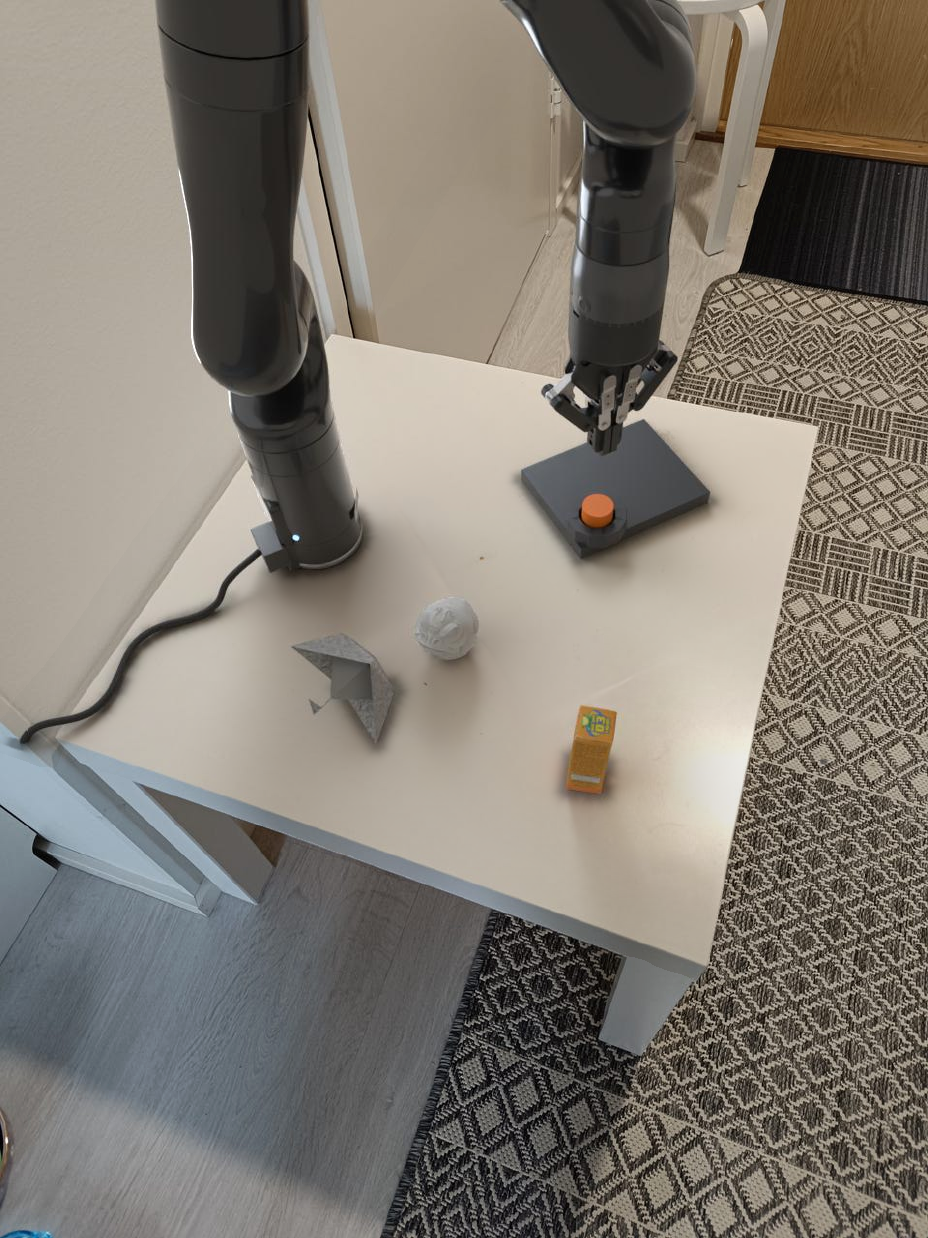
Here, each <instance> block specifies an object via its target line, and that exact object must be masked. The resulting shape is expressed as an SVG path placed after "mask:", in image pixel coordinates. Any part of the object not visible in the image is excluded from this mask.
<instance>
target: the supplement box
mask: <svg viewBox="0 0 928 1238" xmlns="http://www.w3.org/2000/svg"><path fill="white" fill-rule="evenodd" d="M617 715H618V712H617V711H616V710H611V709H607V708H601V707H594V706H588V705H579V709H578V713H577V718H576V724H575V728H574V734H573V739H572V743H571V749H570V755H569V763H568V768H567V774H566V775H567V776H566V783H565V785H566V786H565V788H566V789H567V790H570V791H577V792H583V793H589V794H597V795H600V794H602V791H603V784H604V780H605V776H606V772H607V768H608V763H609V759H610V758H609V757H610V755H611V751H612V750H611V749H612V746H613V742H614V738H615V731H616V724H617Z"/></svg>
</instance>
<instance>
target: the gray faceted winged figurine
mask: <svg viewBox="0 0 928 1238" xmlns="http://www.w3.org/2000/svg"><path fill="white" fill-rule="evenodd" d="M290 648H291V649H293V650H294V651H295V652H297V653H298V654H299V655H300V656H301V657H303V658H304V659H305V660H306V661H307V662H309V663H310V664H311V665H312V666H314V667H315V668H316V669H317V670H318V671H320V672H321V673H322V674H323V675H324V676H326V677H327V678H328V679H329V680H331V681H330V698H328V699H327V701H325V702H324V703H323V704H322V705H321V706H320V705H319V704H317V703H316V702H314V701H313V700H312V699H310V698H308V701H309V705H310V708H311V712H312V714H313V716H315V715H316V714H318V712H320V711H321V710H322V708H323V707H325V706H326V704H328V703H329V702H330V701H331V700H347V701H348V702H349V704H350V705H351V707H352V708H353V710H354V712H355V713H356V714H357V716H358V717H359V719H360V721H361V722H362V724H363V725H364V727H365V728H366V730H367V731H368V733H369V734H370V737H372V738H373V741H374V743H375V744H377V743H378V741H379V737H380V736H381V732H382V730H383V726H384V724H385V721H386V717H387V715H388V712H389V710H390V707H391V704H392V701H393V698H394V695H395V689H394V686H393V685H392V683H391V681H390V679H389V677H388V675H387V674H386V672H385V671H384V669H383V668H382V666H381V663H380V662H379V661H378V659H377V658H376V656H375V655H373V654H372V653H371V652H370V651H369V650H367V649H366V648H364V646H362V645H361V644H360V643H358V642H356V641H355V640H354V639H353V638H352V637H349V636H348V635H346V634H344V633H343V632H339V633H335V634H332V635H328V636H326V637H325V636H324V637H321V638H317V639H312V640H309V641H305V642H302V643H298V644H294V645H290Z"/></svg>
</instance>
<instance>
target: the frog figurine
mask: <svg viewBox="0 0 928 1238" xmlns="http://www.w3.org/2000/svg"><path fill="white" fill-rule="evenodd" d="M479 628H480V624H479V618H478V616H477V614H476V612H475V611H474V608H473V607H472V605H471V603H469V602H468V601H467V600H466V599H464V598H461V597H457V596H448V597H444V598H442V599H439V600H437V601H435V602H432V603H430V604H428V605H427V606H426V607H425V608H424V610H423V611H422V613H420V614H419V616H418V617H417V619H416V620H415V624H414V628H413V629H414V633H413V638H414V640H416V641H417V642H418V644H419V645H420V646H421V647H422V649H423V650H424V651H425V652H427V653H430V654H432V655H433V656H435V657H437V658H439V659H442V660H445V661H446V660H447V661H450V660H451V661H452V660H456V659H460V658H461V657H464V656H466V654H468V653H469V651H470V650H471V649H472V648H473V647H474V646H475V645H476V642H477V633H478V632H479Z"/></svg>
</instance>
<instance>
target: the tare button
mask: <svg viewBox="0 0 928 1238" xmlns="http://www.w3.org/2000/svg"><path fill="white" fill-rule="evenodd" d="M613 508H614V505H613V502H612V500H611V499H610V498H609V497H607V496H606V495H603V494H592V495H590V496H588V497H586V498H585V499H584V501H583V503H582V514H581V517H582V520H583V522H584V523H585V524H586V525H587V526H589V527H592V528H602V527H605V526H607V525H608V524H610V522H611V521H612V517H613Z"/></svg>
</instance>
